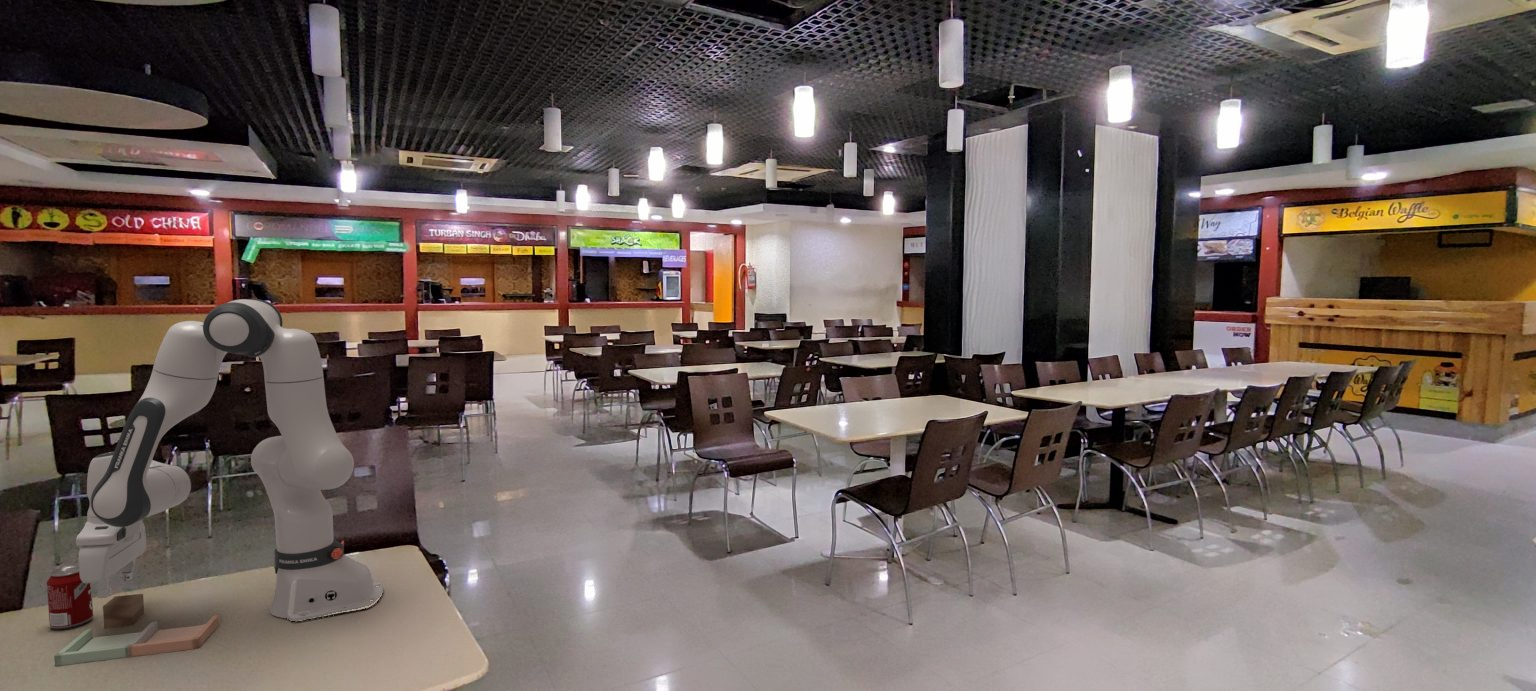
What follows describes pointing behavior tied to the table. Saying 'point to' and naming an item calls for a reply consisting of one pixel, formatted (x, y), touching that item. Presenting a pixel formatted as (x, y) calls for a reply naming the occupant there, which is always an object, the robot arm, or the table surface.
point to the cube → (123, 610)
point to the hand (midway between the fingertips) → (115, 588)
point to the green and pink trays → (134, 643)
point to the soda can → (68, 598)
